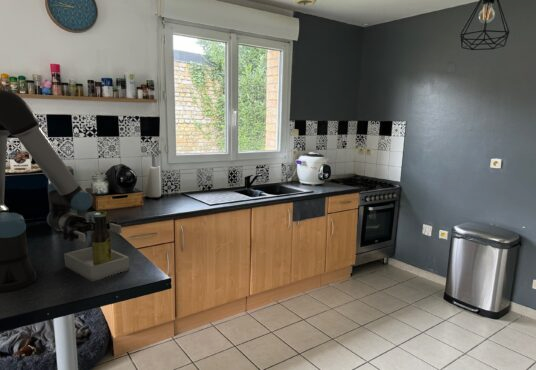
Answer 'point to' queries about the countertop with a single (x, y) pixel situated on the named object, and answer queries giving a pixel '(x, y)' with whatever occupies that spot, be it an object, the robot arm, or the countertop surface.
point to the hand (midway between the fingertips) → (103, 233)
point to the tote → (84, 265)
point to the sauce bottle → (101, 241)
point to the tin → (89, 233)
